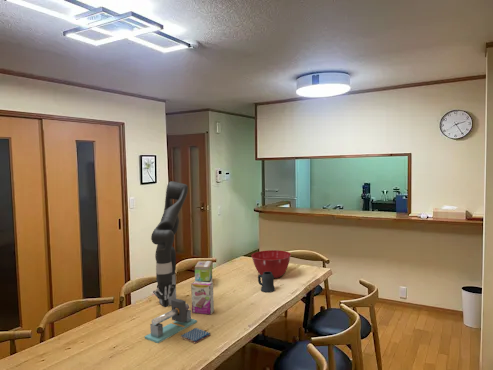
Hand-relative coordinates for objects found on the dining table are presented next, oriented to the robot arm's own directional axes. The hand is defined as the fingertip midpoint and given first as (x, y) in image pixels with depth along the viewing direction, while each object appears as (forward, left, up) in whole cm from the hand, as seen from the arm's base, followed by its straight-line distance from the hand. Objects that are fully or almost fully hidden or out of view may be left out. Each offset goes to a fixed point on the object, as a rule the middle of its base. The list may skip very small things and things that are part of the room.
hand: (165, 306), depth 174 cm
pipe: (0, +3, -13) cm, 13 cm away
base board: (0, +3, -13) cm, 13 cm away
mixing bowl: (-2, +102, -13) cm, 103 cm away
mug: (+10, +75, -13) cm, 77 cm away
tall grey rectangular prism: (0, +8, -10) cm, 13 cm away
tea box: (-31, +62, -13) cm, 71 cm away
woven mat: (+15, +4, -14) cm, 21 cm away
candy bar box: (-1, +27, -13) cm, 30 cm away
